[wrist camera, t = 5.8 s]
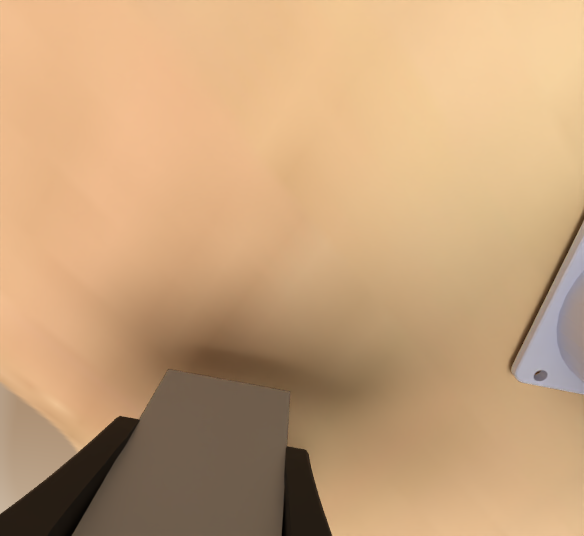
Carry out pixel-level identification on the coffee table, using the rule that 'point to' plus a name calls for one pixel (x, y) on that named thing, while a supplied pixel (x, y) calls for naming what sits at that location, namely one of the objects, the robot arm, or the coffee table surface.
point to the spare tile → (198, 464)
